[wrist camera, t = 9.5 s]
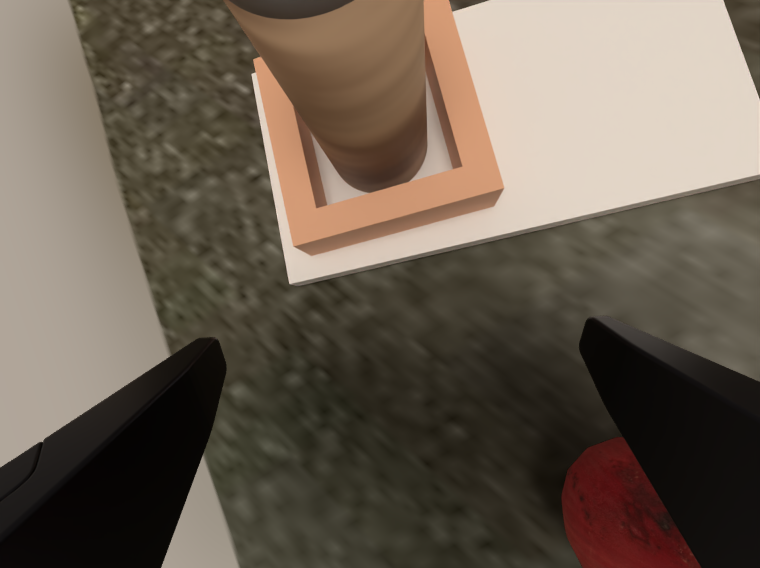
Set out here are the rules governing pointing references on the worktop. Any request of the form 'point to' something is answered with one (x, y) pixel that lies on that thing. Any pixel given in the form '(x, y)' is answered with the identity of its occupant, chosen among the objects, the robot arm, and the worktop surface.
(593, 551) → the red oval fruit
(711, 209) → the worktop surface
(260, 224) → the worktop surface
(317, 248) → the socket
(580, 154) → the mount board
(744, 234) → the worktop surface
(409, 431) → the worktop surface
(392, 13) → the gray-capped wooden tube
